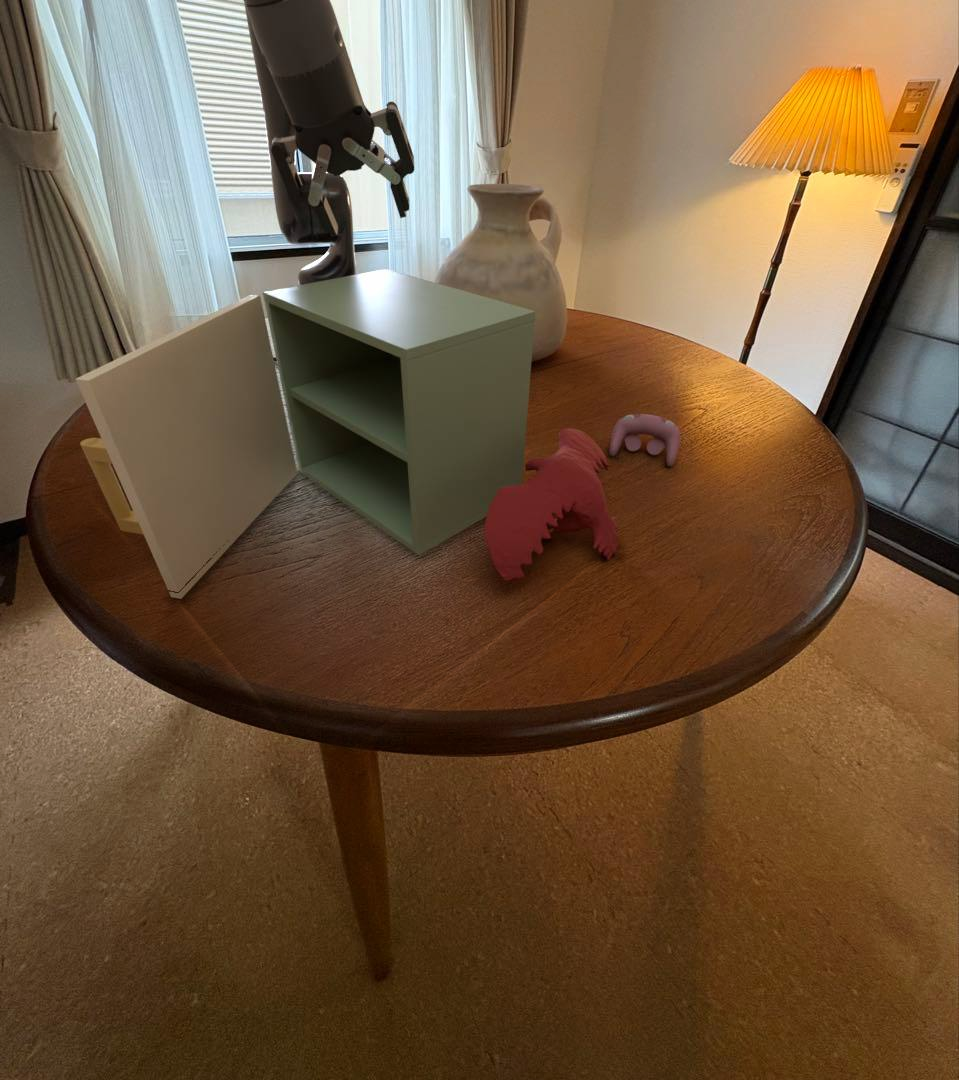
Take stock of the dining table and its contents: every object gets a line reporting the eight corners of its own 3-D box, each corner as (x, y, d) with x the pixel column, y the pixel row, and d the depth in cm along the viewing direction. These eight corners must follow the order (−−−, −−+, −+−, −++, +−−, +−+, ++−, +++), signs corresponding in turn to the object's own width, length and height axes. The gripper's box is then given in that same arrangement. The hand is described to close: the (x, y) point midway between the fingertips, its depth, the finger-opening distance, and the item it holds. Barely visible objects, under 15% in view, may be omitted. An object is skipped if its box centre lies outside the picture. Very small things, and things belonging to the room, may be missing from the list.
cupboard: (418, 556, 65) (406, 349, 50) (299, 471, 79) (262, 292, 64) (521, 496, 75) (535, 311, 61) (399, 431, 89) (386, 268, 75)
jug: (398, 359, 115) (387, 187, 96) (484, 318, 138) (488, 173, 119) (522, 391, 103) (535, 202, 85) (593, 341, 126) (616, 184, 108)
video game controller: (673, 466, 85) (684, 420, 84) (674, 467, 81) (686, 419, 79) (608, 455, 88) (618, 410, 86) (606, 455, 83) (616, 408, 82)
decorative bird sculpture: (612, 514, 80) (554, 426, 77) (669, 491, 73) (609, 394, 71) (522, 643, 60) (441, 531, 58) (589, 626, 54) (502, 500, 51)
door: (118, 587, 60) (7, 370, 45) (249, 467, 80) (201, 290, 65) (181, 599, 58) (88, 380, 44) (297, 473, 79) (260, 295, 64)
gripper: (378, 17, 54) (426, 192, 67) (241, 59, 55) (314, 221, 69) (377, 46, 50) (428, 225, 63) (229, 90, 51) (309, 256, 65)
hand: (368, 223), depth 66 cm, fingers open, 8 cm apart
